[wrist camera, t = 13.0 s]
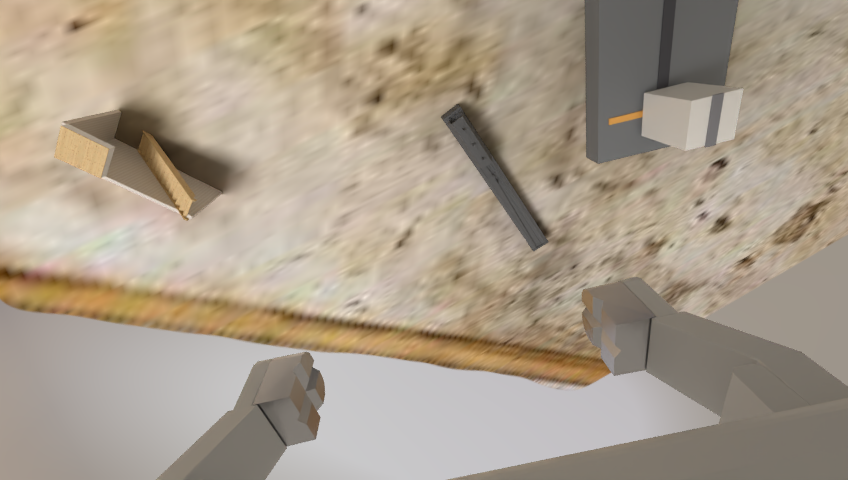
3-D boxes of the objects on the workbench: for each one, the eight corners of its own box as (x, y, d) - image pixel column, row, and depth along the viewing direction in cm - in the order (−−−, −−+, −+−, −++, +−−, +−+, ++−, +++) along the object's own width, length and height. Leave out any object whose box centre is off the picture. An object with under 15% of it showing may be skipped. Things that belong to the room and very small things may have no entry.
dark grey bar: (546, 230, 43) (560, 248, 40) (527, 242, 44) (539, 260, 40) (461, 99, 35) (469, 105, 32) (440, 116, 36) (445, 124, 32)
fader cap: (643, 92, 33) (693, 100, 28) (687, 81, 33) (745, 87, 27) (641, 136, 35) (686, 151, 30) (682, 126, 35) (735, 140, 29)
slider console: (584, -110, 28) (601, -125, 26) (736, -152, 28) (768, -171, 25) (586, 157, 39) (598, 164, 36) (697, 130, 38) (717, 135, 36)
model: (120, 109, 34) (52, 124, 27) (233, 168, 37) (197, 194, 30) (112, 138, 35) (44, 159, 28) (222, 192, 38) (185, 223, 31)
